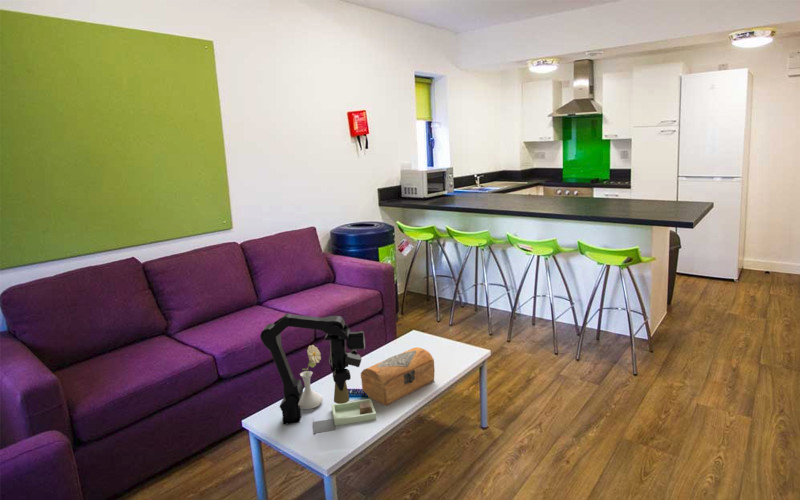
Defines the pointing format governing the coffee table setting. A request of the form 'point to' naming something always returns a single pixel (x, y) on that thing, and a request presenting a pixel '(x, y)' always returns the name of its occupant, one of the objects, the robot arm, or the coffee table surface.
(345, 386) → the cork
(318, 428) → the pad
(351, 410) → the tray
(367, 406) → the walnut block
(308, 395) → the flower in vase
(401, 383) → the wooden box
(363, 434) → the coffee table surface
